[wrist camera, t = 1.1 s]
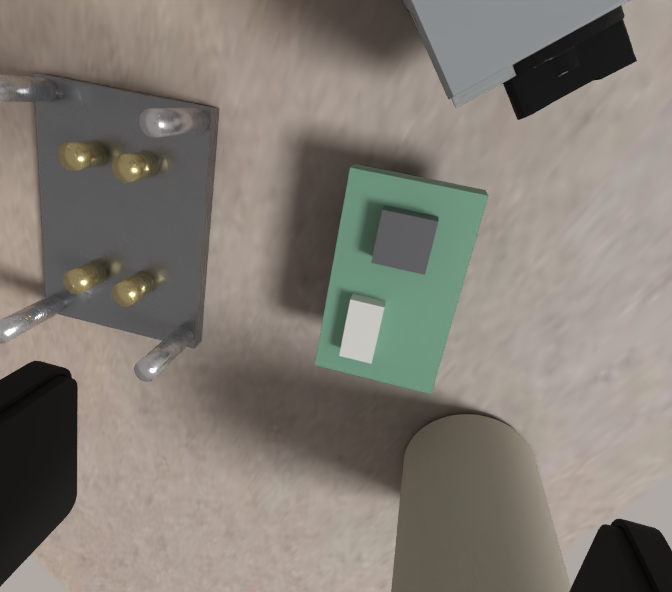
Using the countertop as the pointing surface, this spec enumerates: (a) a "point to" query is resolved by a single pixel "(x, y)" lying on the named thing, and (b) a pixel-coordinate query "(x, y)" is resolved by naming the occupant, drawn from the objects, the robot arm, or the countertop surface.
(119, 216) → the chassis
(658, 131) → the countertop surface
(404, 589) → the travel mug
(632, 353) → the countertop surface
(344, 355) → the board
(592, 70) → the circuit breaker
